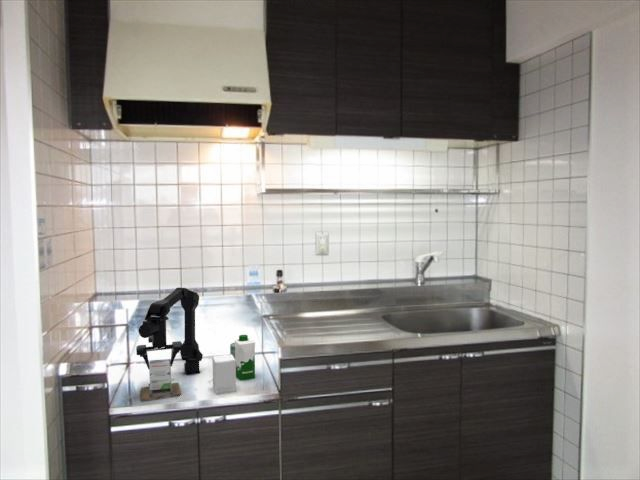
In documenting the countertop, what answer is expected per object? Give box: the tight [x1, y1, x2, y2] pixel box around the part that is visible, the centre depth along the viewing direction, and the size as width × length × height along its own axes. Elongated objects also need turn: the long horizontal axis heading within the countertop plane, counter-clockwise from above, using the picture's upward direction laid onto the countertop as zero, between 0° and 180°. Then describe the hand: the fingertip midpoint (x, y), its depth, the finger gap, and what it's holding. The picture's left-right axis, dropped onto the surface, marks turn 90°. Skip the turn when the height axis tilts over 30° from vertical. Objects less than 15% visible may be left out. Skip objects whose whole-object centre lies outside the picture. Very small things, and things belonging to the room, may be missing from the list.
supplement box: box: [212, 354, 237, 396], centre depth 205 cm, size 9×9×15 cm
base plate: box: [140, 382, 182, 402], centre depth 204 cm, size 16×14×2 cm
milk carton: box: [234, 334, 256, 381], centre depth 221 cm, size 9×9×20 cm
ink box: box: [148, 358, 172, 390], centre depth 204 cm, size 9×5×12 cm, turn 102°
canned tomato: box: [229, 342, 235, 359], centre depth 240 cm, size 8×8×11 cm
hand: (160, 367), depth 204 cm, fingers open, 9 cm apart
